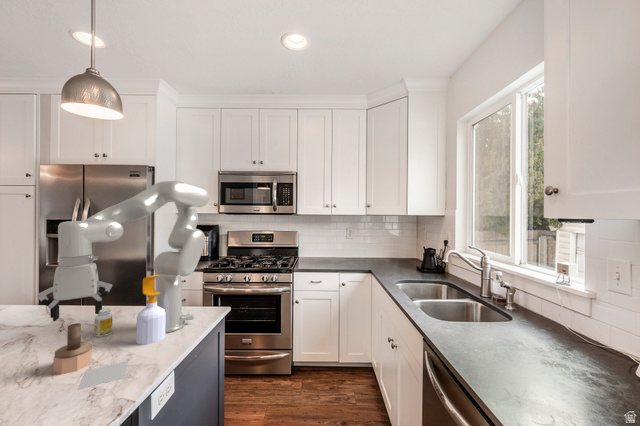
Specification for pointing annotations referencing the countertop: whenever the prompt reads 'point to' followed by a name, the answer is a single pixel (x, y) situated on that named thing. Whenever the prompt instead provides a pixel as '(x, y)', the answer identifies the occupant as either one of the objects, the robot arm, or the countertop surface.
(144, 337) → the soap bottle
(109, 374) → the mat
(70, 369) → the octagonal peach pot
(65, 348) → the lid
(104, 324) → the supplement bottle
